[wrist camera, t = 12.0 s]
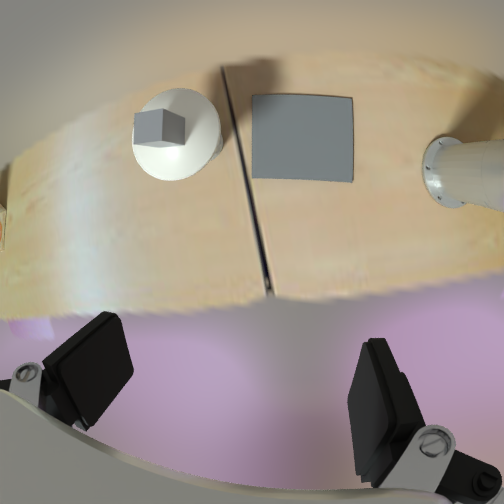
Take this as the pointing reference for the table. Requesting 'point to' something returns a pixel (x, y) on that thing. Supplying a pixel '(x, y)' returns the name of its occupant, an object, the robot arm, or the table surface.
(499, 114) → the table surface
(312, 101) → the mat
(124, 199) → the table surface
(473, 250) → the table surface
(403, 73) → the table surface
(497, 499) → the robot arm
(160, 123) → the lid
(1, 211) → the coffeecake box
